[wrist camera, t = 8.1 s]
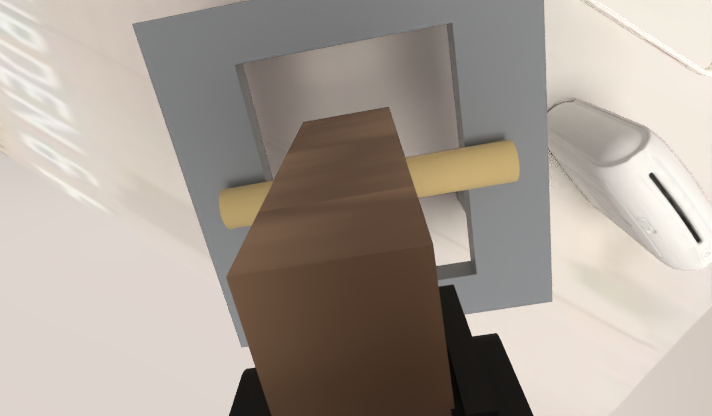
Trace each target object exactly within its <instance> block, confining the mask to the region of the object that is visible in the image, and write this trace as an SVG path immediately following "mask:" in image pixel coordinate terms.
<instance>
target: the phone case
mask: <svg viewBox="0 0 712 416" xmlns="http://www.w3.org/2000/svg"><path fill="white" fill-rule="evenodd" d="M582 1H584V2H585V3H587V4H588V5H590V6H591V7H593V8H594V9H596V10H598V11H599V12H601V13H602V14H604V15H605V16H607V17H608V18H610V19H612V20H613V21H615V22H616V23H618V24H619V25H621V26H622V27H624V28H626V29H627V30H629V31H630V32H632V33H633V34H635V35H637V36H638V37H640V38H641V39H646V40H647V41H649V42H650V43H652V44H653V45H655V46H657V47H658V48H660V49H661V50H663V51H664V52H666V53H667V54H669V55H671V56H672V57H674V58H675V59H677V60H678V61H680V62H681V63H683V64H685V65H686V68H688V69H689V70H691V71H693V72H694V73H697V74H700V75H706V76H712V64H711V65H710V66H709V67H708V68H707V69H702V68H700V67H699V66H697V65H696V64H694V63H693V62H691V61H690V60H688V59H686V58H685V57H683V56H682V55H680V54H679V53H677V52H676V51H674V50H673V49H671V48H669V47H668V46H666V45H665V44H663V43H662V42H660V41H659V40H657V39H656V38H654V37H652V36H651V35H649V34H648V33H646V32H645V31H643V30H642V29H640V28H638V27H637V26H635V25H634V24H632V23H631V22H629V21H628V20H626V19H625V18H623V17H621V16H620V15H618V14H617V13H615V12H614V11H612V10H611V9H609V8H608V7H606V6H604V5H603V4H601V3H600V2H598V1H597V0H582Z"/></svg>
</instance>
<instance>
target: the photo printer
mask: <svg viewBox="0 0 712 416" xmlns="http://www.w3.org/2000/svg"><path fill="white" fill-rule="evenodd" d="M547 131H548V148H549V150H550V151H551V153H552V154H553V156H554V157H555V158H556V160H557V161H558V162H559V164H560V165H561V166H562V168H563V169H564V170H565V172H566V173H567V174H568V175H569V177H570V178H571V179H572V180H573V182H574V183H575V184H576V186H577V187H578V188H579V189H580V190H581V192H582V193H583V194H584V195H585V196H586V198H587V199H588V200H589V201H590V202H591V203H592V204H593V205H594V206H595V207H596V208H597V209H598V210H599V211H600V212H602V213H603V214H604V215H605V216H607V217H608V218H609V219H610V220H611V221H613V222H614V223H615V224H616V225H618V226H619V227H620V228H621V229H622V230H624V231H625V232H626V233H627V234H628V235H630V236H631V237H632V238H633V239H634V240H636V241H637V242H638V243H639V244H640V245H642V246H643V247H644V248H645V249H646V250H648V251H649V252H650V253H651V254H653V255H654V256H655V257H656V258H657V259H659V260H660V261H661V262H663V263H664V264H666V265H667V266H669V267H671V268H673V269H676V270H682V271H696V270H702V269H704V268H705V267H706V266H707V265H708V264H709V263H710V262H712V204H711V202H710V201H709V199H708V198H707V196H706V194H705V193H704V191H703V190H702V188H701V187H700V185H699V184H698V182H697V181H696V180H695V178H694V177H693V175H692V174H691V172H690V171H689V170H688V168H687V167H686V166H685V165H684V163H683V162H682V161H681V159H680V158H679V157H678V156H677V155H676V153H675V152H674V151H673V150H672V149H671V148H670V147H669V145H668V144H667V143H666V142H665V141H664V140H663V139H662V138H661V137H659V136H658V135H657V134H656V133H654V132H653V131H652V130H650V129H649V128H647V127H646V126H644V125H641V124H639V123H636V122H634V121H632V120H629V119H627V118H624V117H622V116H619V115H617V114H615V113H612V112H610V111H607V110H605V109H602V108H600V107H597V106H595V105H592V104H590V103H587V102H585V101H582V100H579V99H575V100H574V101H573V102H564V103H561V104H559V105H557V106H555V107H554V108H552V109H551V110H550V111H549V112H548V113H547Z"/></svg>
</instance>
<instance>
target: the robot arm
mask: <svg viewBox="0 0 712 416" xmlns="http://www.w3.org/2000/svg"><path fill="white" fill-rule="evenodd" d="M439 293H440V301H441V308H442V316H443V323H444V331H445V339H446V346H447V354H448V361H449V369H450V376H451V384H452V391H453V399H454V406H455V409H451V415H452V416H533V414H532V411H531V409H530V407H529V404H528V402H527V400H526V397H525V395H524V393H523V390H522V388H521V386H520V384H519V381H518V379H517V377H516V374H515V372H514V370H513V367H512V365H511V363H510V360H509V358H508V356H507V354H506V351H505V349H504V347H503V344H502V342H501V340H500V338H499V336H498V334H497V333H494V334H487V335H480V336H473V337H472V335H471V332H470V329H469V326H468V324H467V321H466V318H465V315H464V312H463V309H462V306H461V304H460V301H459V298H458V295H457V292H456V289H455V286H454V285H453V284H452V285H445V286H439ZM229 416H271V413H270V410H269V407H268V404H267V401H266V398H265V394H264V391H263V388H262V385H261V382H260V379H259V376H258V373H257V370H256V368H250V369H246V370H245V371H244V372H243V374H242V377H241V380H240V383H239V386H238V389H237V392H236V395H235V398H234V402H233V405H232V408H231V411H230V414H229Z"/></svg>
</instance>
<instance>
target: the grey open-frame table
mask: <svg viewBox="0 0 712 416" xmlns="http://www.w3.org/2000/svg"><path fill="white" fill-rule="evenodd" d="M444 24H447V31H448V40H449V50H450V60H451V70H452V80H453V90H454V99H455V109H456V119H457V129H458V139H459V148H458V149H453V150H447V151H441V152H435V153H429V154H424V155H418V156H412V157H406V158H405V159H406V162H407V165H408V168H409V171H410V174H411V178H412V181H413V184H414V187H415V190H416V193H417V196H418V198H421V197H427V196H433V195H439V194H445V193H451V192H457V197H458V199H459V201H460V203H461V205H462V207H463V209H464V211H465V212H466V217H467V227H468V237H469V247H470V257H471V261H467V262H461V263H454V264H448V265H441V266H436V271H437V278H438V286H445V285H452V284H453V285H454V286H455V289H456V292H457V295H458V298H459V301H460V304H461V306H462V309H463V312H464V314H471V313H478V312H485V311H492V310H498V309H505V308H512V307H519V306H525V305H532V304H539V303H546V302H552V273H551V237H550V202H549V166H548V131H547V96H546V60H545V25H544V0H249V1H244V2H239V3H234V4H229V5H224V6H219V7H214V8H209V9H204V10H199V11H194V12H189V13H184V14H179V15H175V16H170V17H165V18H160V19H155V20H150V21H145V22H140V23H135V24H132V25H133V28H134V31H135V34H136V37H137V40H138V43H139V46H140V49H141V52H142V55H143V57H144V60H145V63H146V66H147V69H148V72H149V75H150V78H151V81H152V84H153V87H154V90H155V93H156V96H157V99H158V102H159V105H160V108H161V111H162V114H163V117H164V120H165V123H166V125H167V128H168V131H169V134H170V137H171V140H172V143H173V146H174V149H175V152H176V155H177V158H178V161H179V164H180V167H181V170H182V173H183V176H184V179H185V182H186V185H187V188H188V191H189V193H190V196H191V199H192V202H193V205H194V208H195V211H196V214H197V217H198V220H199V223H200V226H201V229H202V232H203V235H204V238H205V241H206V244H207V247H208V250H209V253H210V256H211V258H212V261H213V264H214V267H215V270H216V273H217V276H218V279H219V282H220V285H221V288H222V291H223V294H224V297H225V300H226V302H227V306H228V309H229V312H230V314H231V317H232V321H233V323H234V326H235V329H236V332H237V335H238V338H239V341H240V344H241V347H248V343H247V340H246V337H245V334H244V330H243V327H242V324H241V321H240V318H239V315H238V312H237V309H236V306H235V303H234V300H233V297H232V294H231V291H230V288H229V285H228V282H227V279H226V276H227V274H228V272H229V270H230V268H231V266H232V264H233V262H234V260H235V258H236V256H237V254H238V252H239V250H240V248H241V246H242V244H243V242H244V240H245V238H246V236H247V234H248V232H249V230H250V228H251V226H252V224H253V222H254V220H255V218H256V216H257V214H258V212H259V210H260V208H261V206H262V204H263V202H264V200H265V198H266V196H267V194H268V192H269V190H270V188H271V186H272V184H273V182H274V181H273V178H272V174H271V170H270V166H269V162H268V159H267V155H266V151H265V147H264V143H263V140H262V136H261V132H260V128H259V124H258V121H257V117H256V113H255V109H254V105H253V102H252V98H251V94H250V90H249V86H248V83H247V79H246V75H245V71H244V67H243V64H242V63H247V62H252V61H257V60H262V59H267V58H273V57H278V56H283V55H288V54H293V53H299V52H304V51H309V50H314V49H319V48H325V47H330V46H335V45H340V44H345V43H351V42H356V41H361V40H366V39H371V38H376V37H382V36H387V35H392V34H397V33H402V32H408V31H413V30H418V29H423V28H428V27H434V26H439V25H444Z"/></svg>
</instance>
